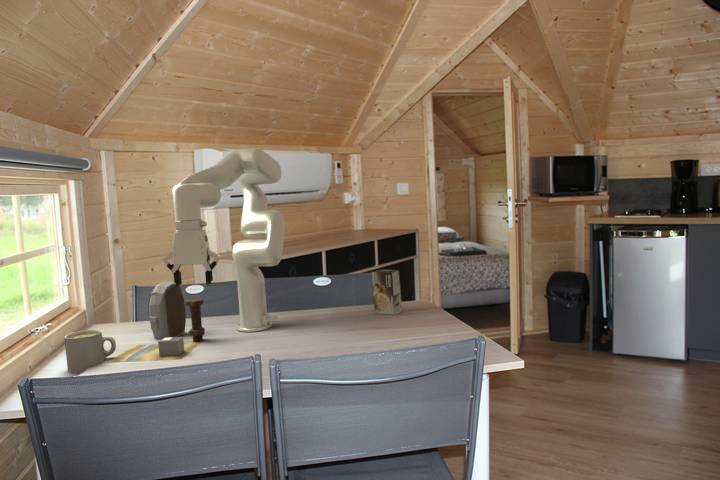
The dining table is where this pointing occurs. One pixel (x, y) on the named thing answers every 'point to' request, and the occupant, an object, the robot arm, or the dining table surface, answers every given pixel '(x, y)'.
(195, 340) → the bolt
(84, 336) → the coffee mug
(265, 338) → the dining table surface
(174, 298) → the small grey backpack
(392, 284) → the coffee box
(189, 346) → the yellow striped flat sheet
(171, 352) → the grey block
